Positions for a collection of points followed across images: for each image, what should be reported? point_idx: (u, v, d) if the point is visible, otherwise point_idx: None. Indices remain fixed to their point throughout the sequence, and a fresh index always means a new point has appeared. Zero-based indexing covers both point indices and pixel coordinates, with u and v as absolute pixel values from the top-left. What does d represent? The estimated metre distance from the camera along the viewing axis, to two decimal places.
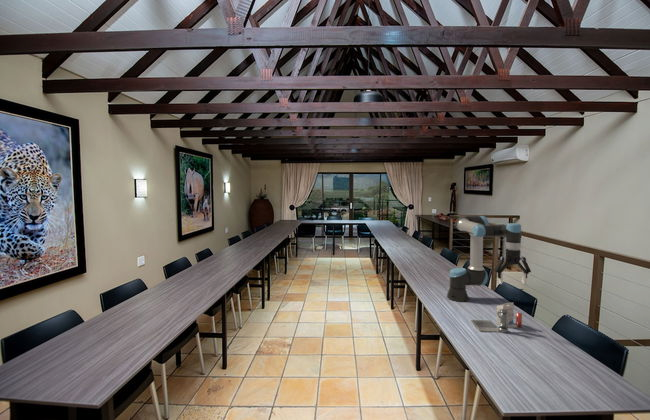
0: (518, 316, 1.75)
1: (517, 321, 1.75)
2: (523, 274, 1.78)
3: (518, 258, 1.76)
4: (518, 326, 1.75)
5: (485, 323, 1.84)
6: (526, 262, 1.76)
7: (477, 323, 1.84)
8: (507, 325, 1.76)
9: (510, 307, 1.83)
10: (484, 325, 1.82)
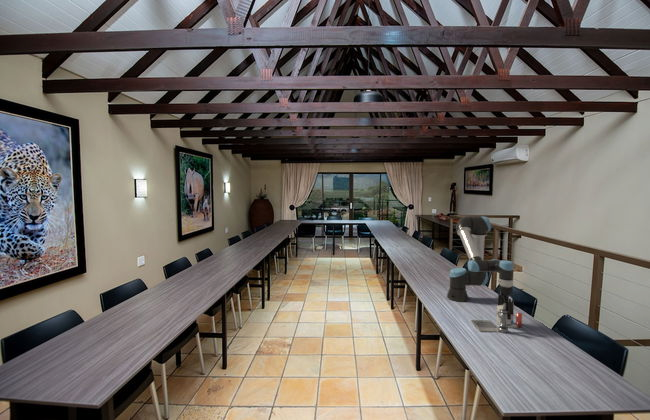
0: (518, 316, 1.75)
1: (517, 321, 1.75)
2: None
3: (506, 295, 1.82)
4: (518, 326, 1.75)
5: (485, 323, 1.84)
6: (509, 303, 1.79)
7: (477, 323, 1.84)
8: (507, 325, 1.76)
9: None
10: (484, 325, 1.82)
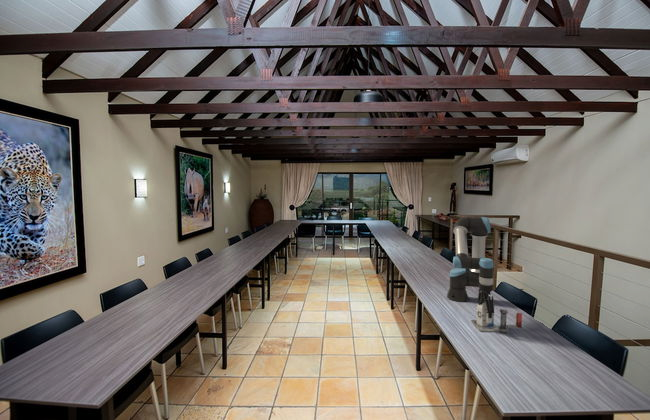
0: (518, 316, 1.75)
1: (517, 321, 1.75)
2: None
3: (486, 293, 1.79)
4: (518, 326, 1.75)
5: None
6: (489, 301, 1.75)
7: None
8: (507, 325, 1.76)
9: None
10: None
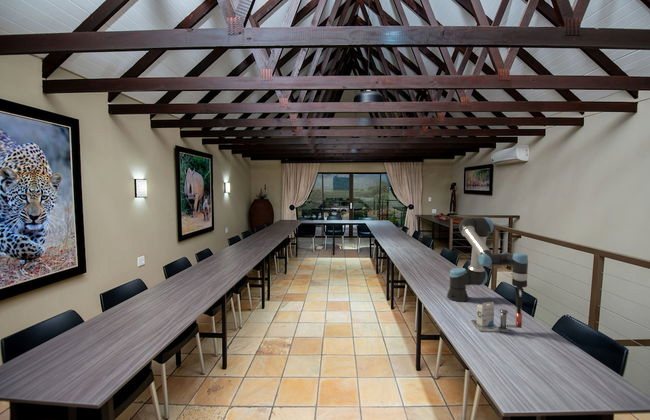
0: (518, 316, 1.75)
1: (517, 321, 1.75)
2: None
3: (517, 289, 1.75)
4: (518, 326, 1.75)
5: None
6: (517, 298, 1.74)
7: None
8: (507, 325, 1.76)
9: (490, 307, 1.80)
10: None
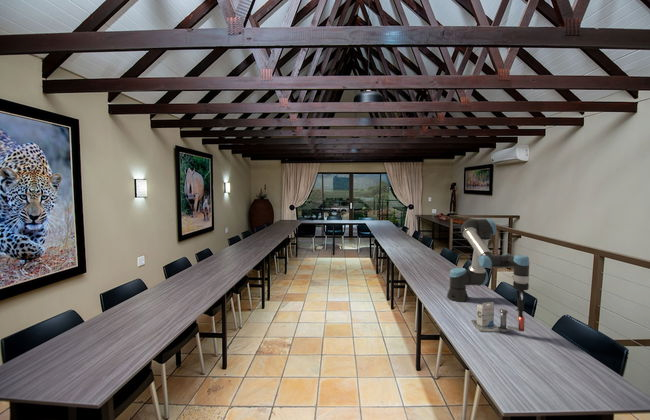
0: (519, 319, 1.71)
1: None
2: None
3: (519, 292, 1.70)
4: (519, 329, 1.71)
5: None
6: (519, 301, 1.69)
7: None
8: None
9: (490, 307, 1.80)
10: None
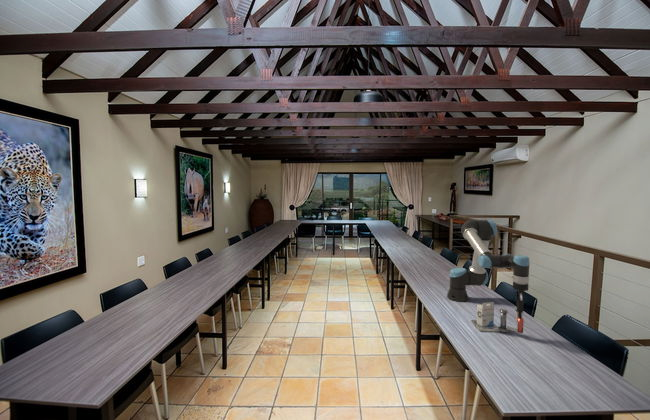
0: (518, 320, 1.69)
1: None
2: None
3: (518, 292, 1.68)
4: (518, 331, 1.70)
5: None
6: (518, 302, 1.67)
7: None
8: (507, 326, 1.75)
9: (490, 307, 1.80)
10: None
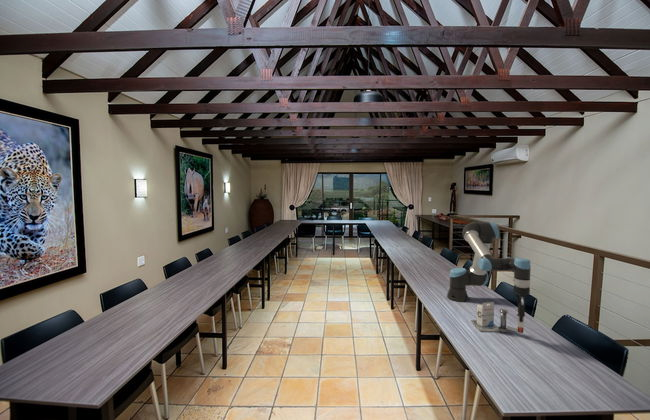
0: None
1: None
2: None
3: (519, 296, 1.64)
4: (518, 330, 1.70)
5: None
6: (519, 306, 1.62)
7: None
8: (507, 326, 1.75)
9: (490, 307, 1.80)
10: None
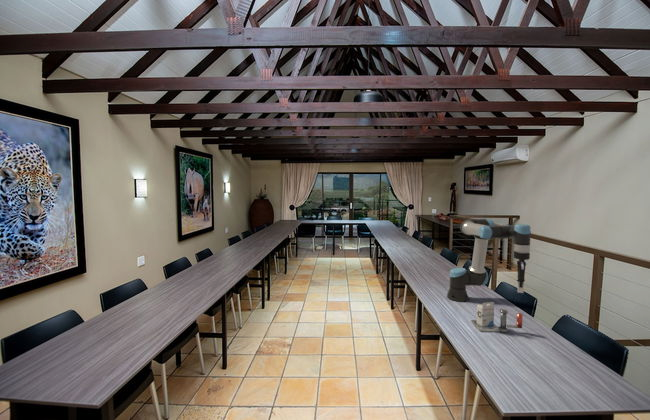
0: (518, 316, 1.74)
1: (517, 321, 1.75)
2: None
3: (519, 261, 1.65)
4: (518, 326, 1.75)
5: None
6: (519, 271, 1.64)
7: None
8: (507, 325, 1.76)
9: (490, 307, 1.80)
10: None
